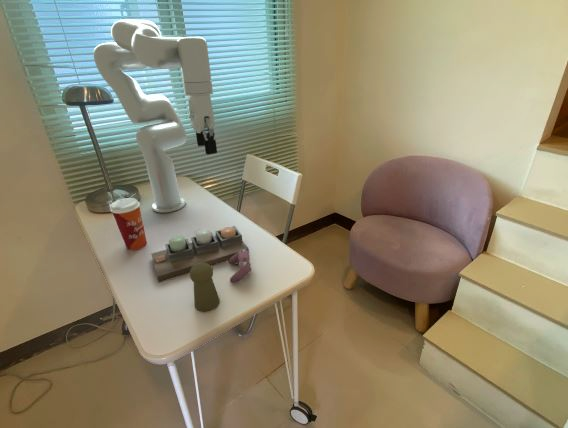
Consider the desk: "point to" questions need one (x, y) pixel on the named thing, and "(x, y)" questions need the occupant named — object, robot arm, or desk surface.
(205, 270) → the olive green skittle
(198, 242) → the white egg
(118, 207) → the coffee cup
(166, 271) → the board
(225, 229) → the brown egg
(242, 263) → the video game controller
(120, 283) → the desk surface
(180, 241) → the pale green egg
